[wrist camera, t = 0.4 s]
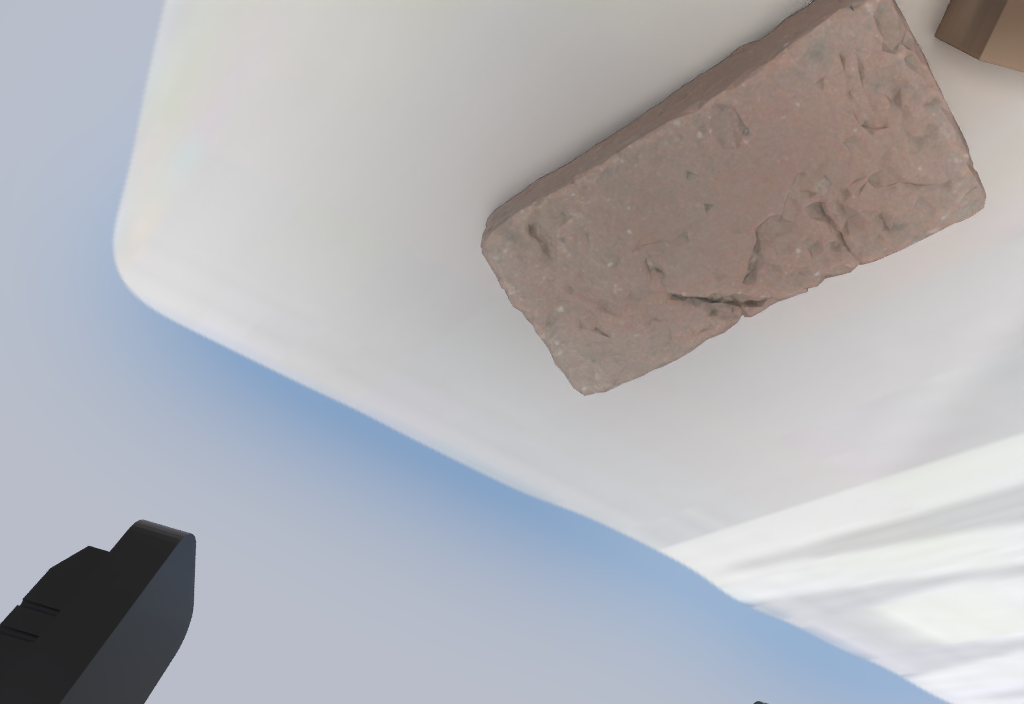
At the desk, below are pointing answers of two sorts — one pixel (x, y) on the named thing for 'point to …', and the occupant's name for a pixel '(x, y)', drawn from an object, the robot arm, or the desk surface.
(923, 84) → the brick
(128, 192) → the desk surface
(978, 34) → the walnut block
